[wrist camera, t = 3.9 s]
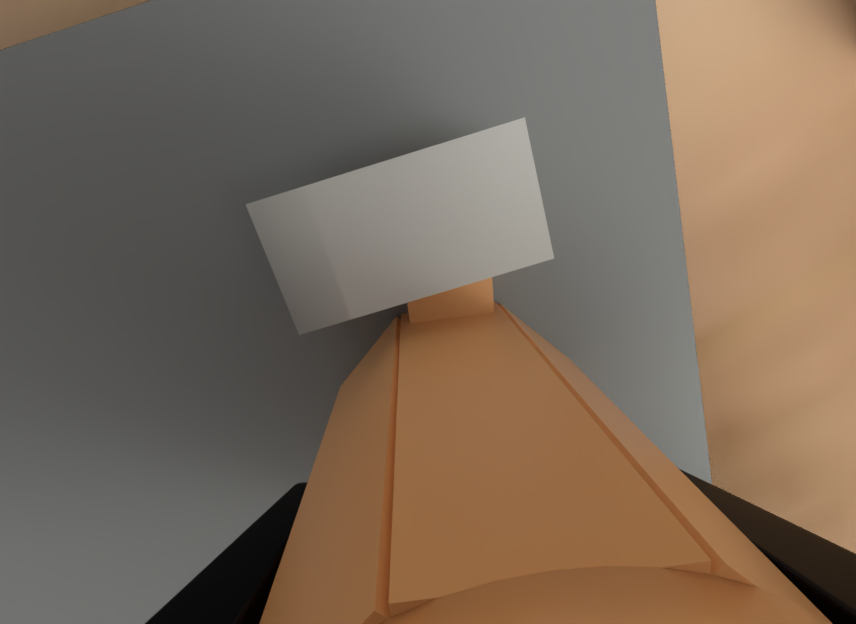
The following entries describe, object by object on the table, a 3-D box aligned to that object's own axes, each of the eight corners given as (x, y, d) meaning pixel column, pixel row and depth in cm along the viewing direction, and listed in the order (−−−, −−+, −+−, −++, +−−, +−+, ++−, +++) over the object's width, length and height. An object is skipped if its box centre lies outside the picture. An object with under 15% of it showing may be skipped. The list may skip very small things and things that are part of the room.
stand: (697, 590, 14) (992, 992, 7) (154, 738, 15) (-83, 1246, 8) (598, -102, 9) (1477, -1449, 2) (-259, 178, 9) (-2440, 124, 2)
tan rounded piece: (577, 576, 12) (889, 1276, 4) (375, 603, 12) (319, 1371, 4) (571, 165, 9) (1716, -40, 1) (298, 196, 9) (-530, 212, 1)
